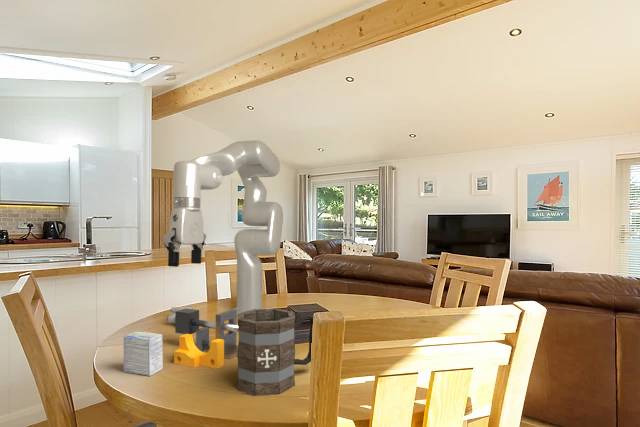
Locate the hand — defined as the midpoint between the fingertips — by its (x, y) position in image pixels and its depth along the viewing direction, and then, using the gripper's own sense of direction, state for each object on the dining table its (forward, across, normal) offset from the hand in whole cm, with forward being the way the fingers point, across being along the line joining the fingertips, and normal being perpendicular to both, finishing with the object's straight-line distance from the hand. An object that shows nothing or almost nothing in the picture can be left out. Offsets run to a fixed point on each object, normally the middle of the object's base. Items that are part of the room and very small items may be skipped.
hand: (185, 264), depth 115 cm
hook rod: (+19, 0, -10) cm, 21 cm away
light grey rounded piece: (+23, +21, +17) cm, 35 cm away
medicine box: (+24, -18, -3) cm, 30 cm away
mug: (+24, -11, -36) cm, 44 cm away
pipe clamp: (+24, -10, -13) cm, 29 cm away
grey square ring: (+23, 0, -12) cm, 26 cm away
